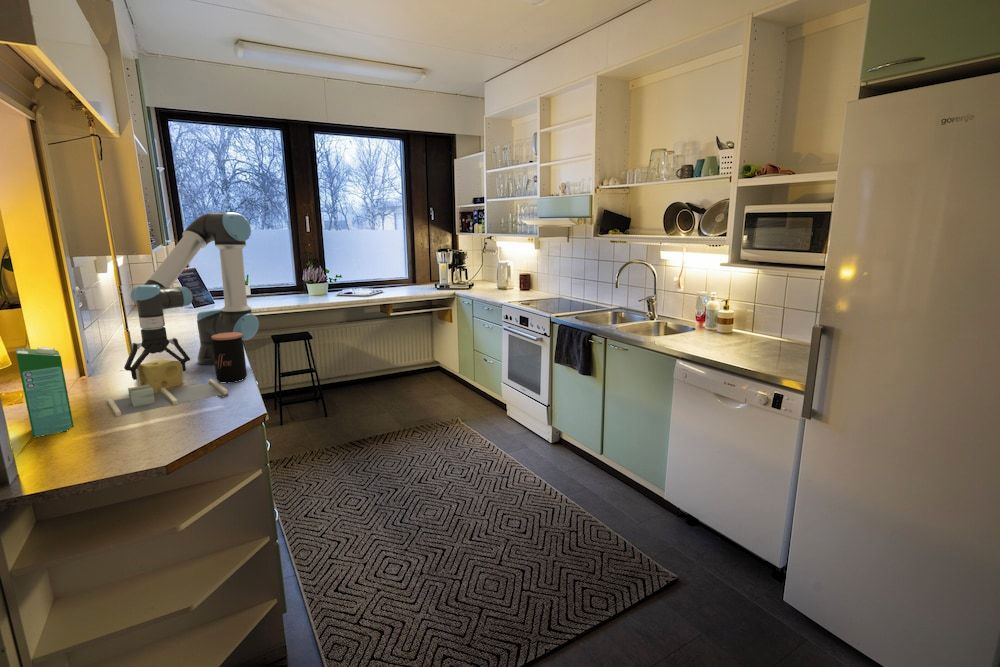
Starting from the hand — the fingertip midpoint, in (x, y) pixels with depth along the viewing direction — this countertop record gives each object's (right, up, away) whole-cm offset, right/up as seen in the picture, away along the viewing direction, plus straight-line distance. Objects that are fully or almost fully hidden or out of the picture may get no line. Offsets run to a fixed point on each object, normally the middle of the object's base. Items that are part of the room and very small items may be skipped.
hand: (161, 383), depth 188 cm
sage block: (+6, -5, -18) cm, 20 cm away
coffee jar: (+21, 0, +11) cm, 23 cm away
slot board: (+11, -4, -13) cm, 18 cm away
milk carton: (-6, -10, -38) cm, 40 cm away
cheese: (0, -2, 0) cm, 2 cm away
